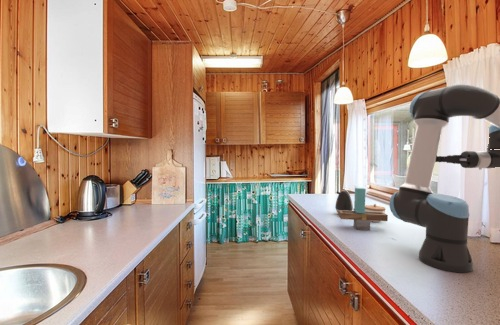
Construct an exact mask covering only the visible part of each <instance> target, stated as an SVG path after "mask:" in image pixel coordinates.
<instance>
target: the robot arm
mask: <svg viewBox="0 0 500 325" xmlns="http://www.w3.org/2000/svg"><path fill="white" fill-rule="evenodd" d="M409 113H410V117H411V118H412V119H413V124H415V126H416V129H415V134H414V138H413V143H412V149H411V151H410V156H409V162H408V167H407V170H406V177H405V181H404V183H403V184H401V185H400V186H399V189H398V191H395V192H394V193H393V194H391V197H390V198H389V209H390V212H391V213H392V215H393V216H394V217H395V218H397V219H398V220H400V221H403V222H404V223H408V224H413V225H416V226H419V227H422V228H425V238H424V240H423V242H422V245H421V247H420V249H419V252H418V260H420V262H422V263H424V264H426V265H428V266H430V267H433V268H436V269H439V270H442V271H448V272H454V273H470V272H472V271H473V269H474V262H473V259H472V255H471V253H470V249H469V246H468V237H469V236H468V234H469V221H470V220H469V218H470V210H469V208H470V207H469V203H468V202H467V201H466V200H464V199H462V198H459V197H456V196H454V195H449V194H442V193H434V192H433V190H432V188H431V183H432V180H433V174H434V170H435V166H436V163H446V164H454V165H455V164H457V165H460V166H461V167H462V168H464V169H478V170H482V169H491V168H495V167H500V150H494V149H500V97H499V95H497V94H496V93H494V92H492V91H490V90H488V89H485V88H482V87H479V86H476V85H471V84H465V83H464V84H462V83H460V84H459V83H458V84H457V83H456V84H452V85H449V86H445V87H444V86H443V87H439V88H437V89H429V90H426V91H424V92H420V93H418V94H417V95H415V96H414V97H413V99H412V100H411V102H410V105H409ZM456 117H471V118H473V119H475V120H484V121H485V122H487V123H489V124H491V125H489V126H490V127H489V126H488V128H489V137H490V138H489V144H488V146H487V145H486V151H485V150H484V151H483V150H481V151H480V150H473V151H471V150H469V151H468V150H465V151H462V152H461V153H460V154H452V155H450V154H448V155H446V156H443V155H441V156H440V155H439V156H438V152H439V148H440V147H439V146H440V141H441V137H442V136H441V135H442V131H443V129H444V128H445V127H447V126H448V125H449V122H450V118H456ZM487 147H488V148H487ZM490 149H492V150H490Z"/></svg>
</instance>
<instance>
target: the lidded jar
mask: <svg viewBox="0 0 500 325" xmlns="http://www.w3.org/2000/svg"><path fill="white" fill-rule="evenodd" d="M365 211H373V212H383V213H385V214H386V207H384V206H380V205H377V204H376V203H374V204H373V205H372V204H368V205H366V204H365ZM372 221H373V220H370V222H372ZM380 222H381V221H373V223H380Z"/></svg>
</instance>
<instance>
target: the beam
mask: <svg viewBox="0 0 500 325" xmlns="http://www.w3.org/2000/svg"><path fill="white" fill-rule="evenodd" d="M337 217H338V218H340V220H351V221H352V220H353V227H354V228H355V230H357V231H371V221H370V220H373V221H380V222H388V219H389V216H388V214H386V212H385V213H383V212H373V211H366V213H355V211H354V210H352V211H348V210H338V213H337Z"/></svg>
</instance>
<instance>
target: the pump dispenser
mask: <svg viewBox="0 0 500 325" xmlns="http://www.w3.org/2000/svg"><path fill="white" fill-rule="evenodd" d="M336 194H338V195H337V198H336V202H335V207H334V208H335V210H336V213H337V214H338V210H348V211H354V205H353V199H352V196H351V194H350V192H349V191H348V190H346V189H343V190H340V191H336Z"/></svg>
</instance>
